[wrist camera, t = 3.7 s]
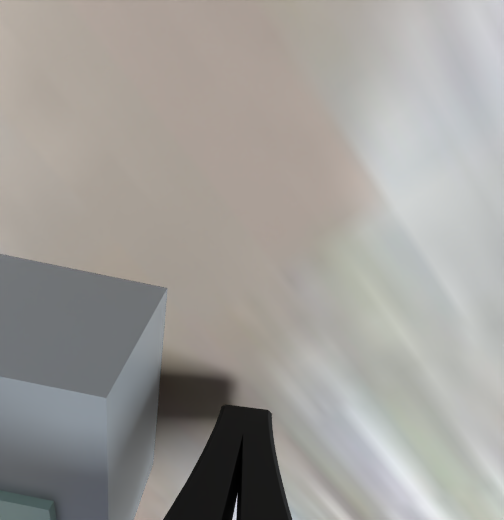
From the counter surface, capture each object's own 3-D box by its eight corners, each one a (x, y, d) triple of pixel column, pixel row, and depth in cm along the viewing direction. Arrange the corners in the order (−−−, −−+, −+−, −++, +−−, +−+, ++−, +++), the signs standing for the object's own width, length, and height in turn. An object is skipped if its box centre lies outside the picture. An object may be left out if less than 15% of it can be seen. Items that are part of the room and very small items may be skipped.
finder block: (155, 458, 14) (106, 598, 10) (26, 431, 14) (-68, 562, 10) (169, 284, 10) (101, 406, 7) (-7, 248, 10) (-173, 351, 7)
